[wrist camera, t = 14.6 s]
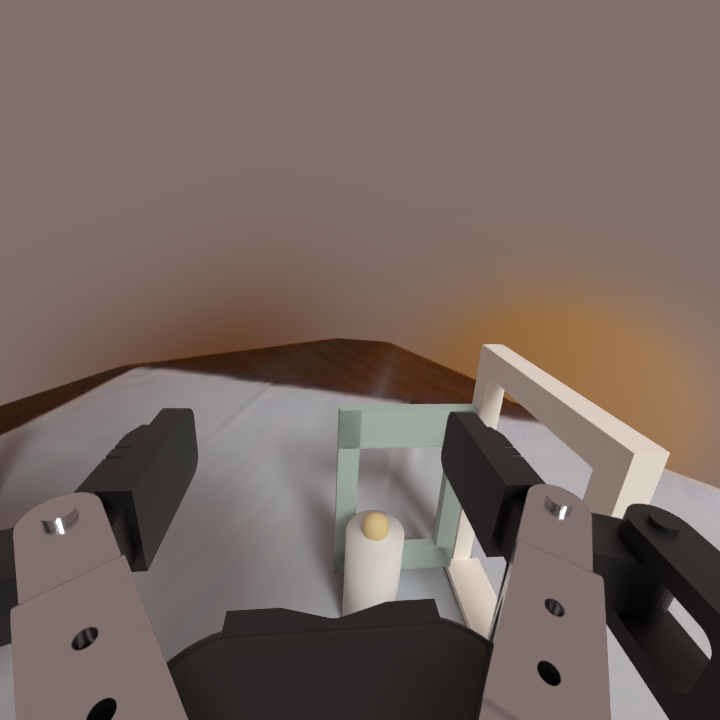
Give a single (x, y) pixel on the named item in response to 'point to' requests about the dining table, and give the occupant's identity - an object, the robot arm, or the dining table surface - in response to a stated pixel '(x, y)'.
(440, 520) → the grey-green rectangular frame
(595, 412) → the door frame
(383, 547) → the white candle
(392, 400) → the dining table surface
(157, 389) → the dining table surface
